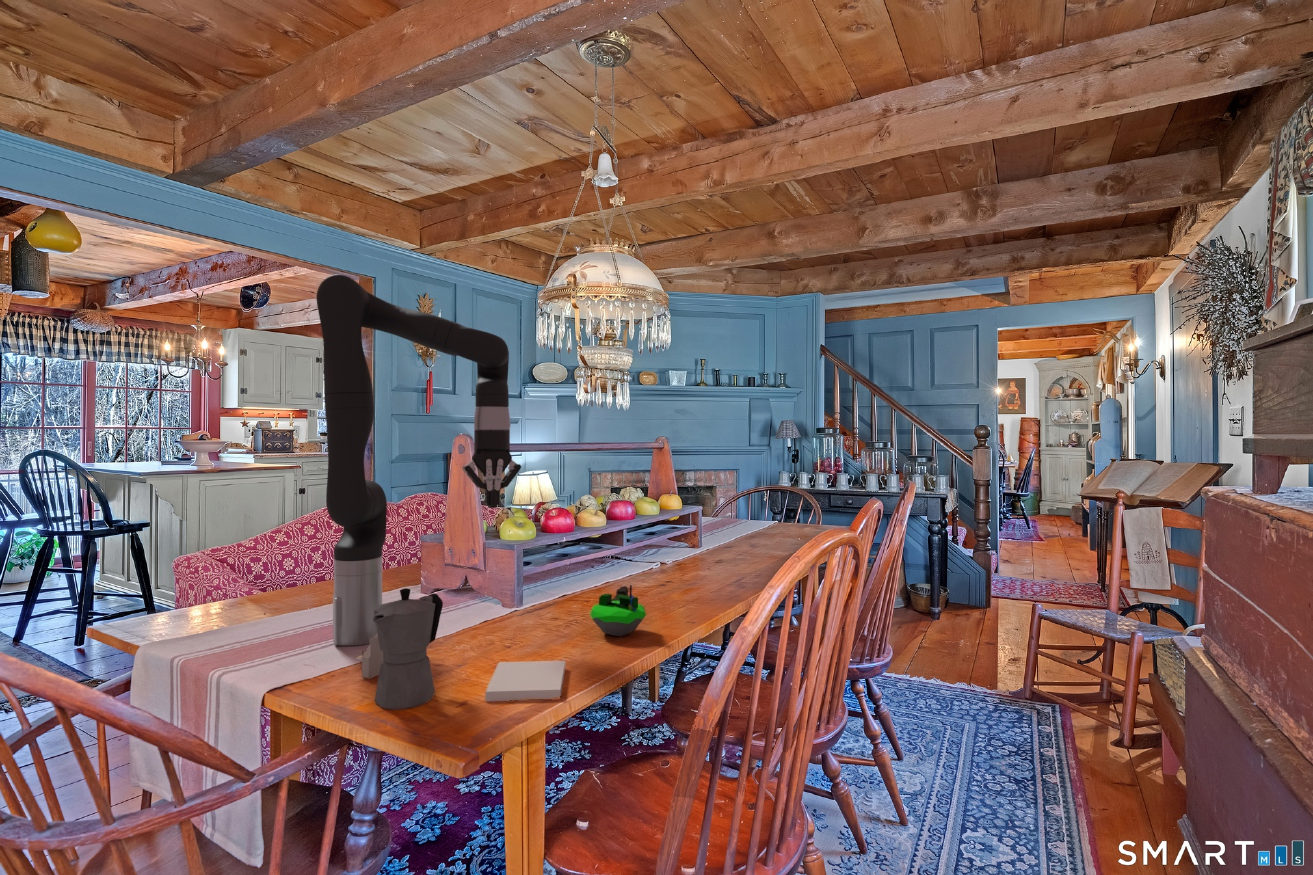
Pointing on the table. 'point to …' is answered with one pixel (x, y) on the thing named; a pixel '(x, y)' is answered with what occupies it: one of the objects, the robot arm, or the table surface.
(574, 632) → the table surface
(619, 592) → the hand tool
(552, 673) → the tile
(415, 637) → the coffeepot
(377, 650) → the architectural model
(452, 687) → the table surface
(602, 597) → the floating island model
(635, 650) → the table surface
